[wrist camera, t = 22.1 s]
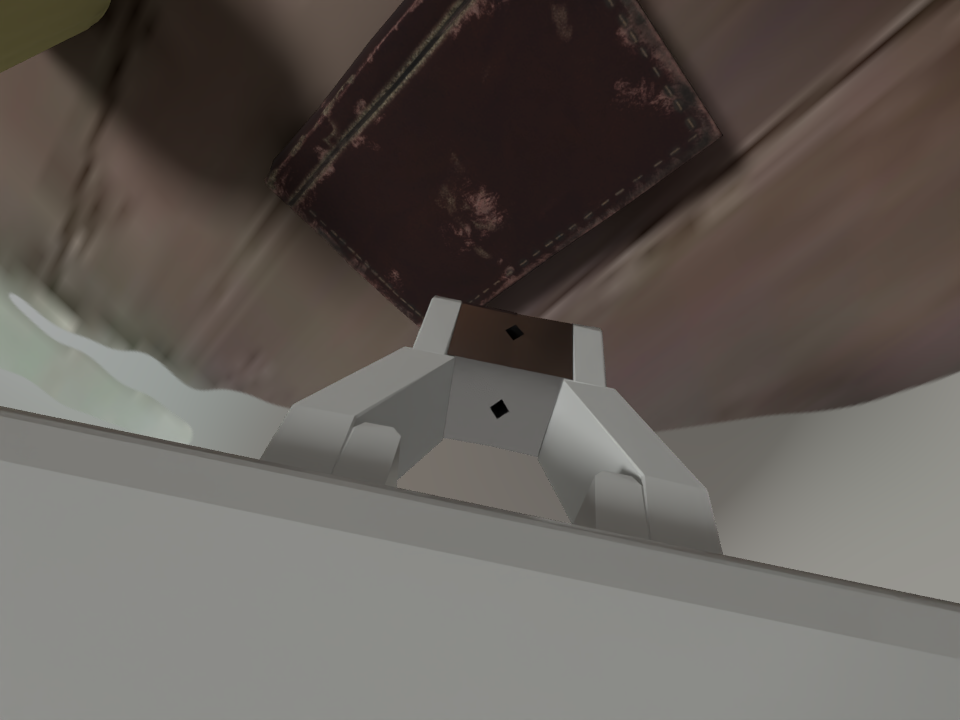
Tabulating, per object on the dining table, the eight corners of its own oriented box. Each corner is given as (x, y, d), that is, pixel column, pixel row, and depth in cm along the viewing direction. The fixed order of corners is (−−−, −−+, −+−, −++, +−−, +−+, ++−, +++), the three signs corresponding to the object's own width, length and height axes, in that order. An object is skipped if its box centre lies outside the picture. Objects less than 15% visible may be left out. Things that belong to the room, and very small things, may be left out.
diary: (284, 156, 41) (253, 178, 37) (536, -153, 29) (529, -169, 25) (452, 317, 48) (440, 350, 44) (714, 124, 36) (730, 147, 32)
